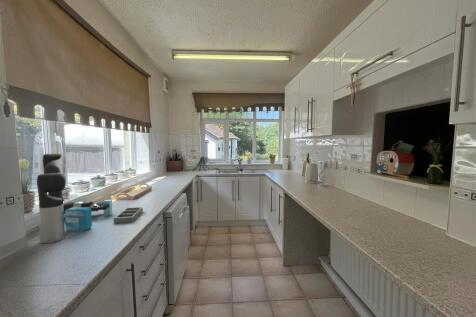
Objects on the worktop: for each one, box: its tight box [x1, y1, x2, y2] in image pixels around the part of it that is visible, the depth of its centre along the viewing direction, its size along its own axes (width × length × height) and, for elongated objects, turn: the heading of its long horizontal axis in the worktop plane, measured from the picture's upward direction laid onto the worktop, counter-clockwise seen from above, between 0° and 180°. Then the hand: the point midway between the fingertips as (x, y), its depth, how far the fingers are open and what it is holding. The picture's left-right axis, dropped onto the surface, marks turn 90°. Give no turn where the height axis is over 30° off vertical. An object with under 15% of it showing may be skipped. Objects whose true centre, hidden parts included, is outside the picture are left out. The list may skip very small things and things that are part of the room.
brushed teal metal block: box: [102, 199, 113, 217], centre depth 150 cm, size 4×4×10 cm
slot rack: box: [113, 206, 144, 224], centre depth 146 cm, size 22×11×4 cm, turn 8°
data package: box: [64, 207, 93, 232], centre depth 125 cm, size 12×4×12 cm, turn 89°
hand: (109, 206), depth 150 cm, fingers open, 8 cm apart
